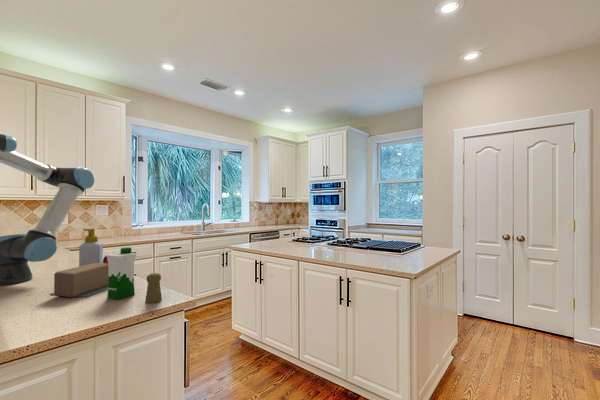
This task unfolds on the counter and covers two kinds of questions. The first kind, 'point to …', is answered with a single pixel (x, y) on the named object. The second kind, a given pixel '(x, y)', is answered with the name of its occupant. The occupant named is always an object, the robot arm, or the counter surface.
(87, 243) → the soap bottle
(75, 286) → the block
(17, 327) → the counter surface
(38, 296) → the counter surface
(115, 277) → the milk carton
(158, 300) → the olive peg figure
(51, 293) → the mat
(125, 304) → the counter surface
